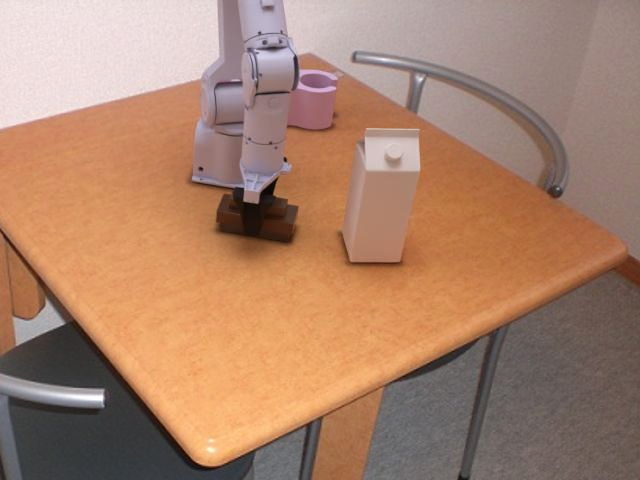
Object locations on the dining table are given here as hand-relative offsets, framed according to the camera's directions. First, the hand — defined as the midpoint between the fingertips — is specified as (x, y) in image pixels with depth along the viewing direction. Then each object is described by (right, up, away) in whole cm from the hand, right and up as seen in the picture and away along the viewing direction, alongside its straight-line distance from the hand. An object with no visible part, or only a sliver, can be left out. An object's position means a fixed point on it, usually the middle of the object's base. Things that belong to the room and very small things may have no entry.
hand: (257, 218), depth 126 cm
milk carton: (+16, -4, -1) cm, 17 cm away
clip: (+4, +21, +28) cm, 35 cm away
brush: (0, -1, +1) cm, 2 cm away
